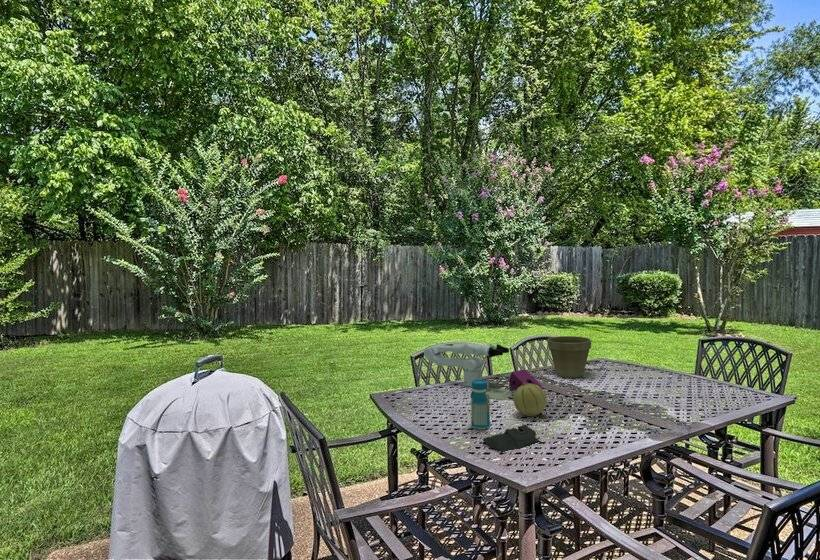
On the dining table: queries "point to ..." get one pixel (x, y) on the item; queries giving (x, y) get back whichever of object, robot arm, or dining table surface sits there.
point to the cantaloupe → (530, 399)
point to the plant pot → (569, 355)
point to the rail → (497, 393)
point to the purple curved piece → (522, 379)
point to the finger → (493, 384)
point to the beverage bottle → (480, 405)
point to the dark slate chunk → (512, 439)
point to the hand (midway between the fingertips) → (505, 351)
